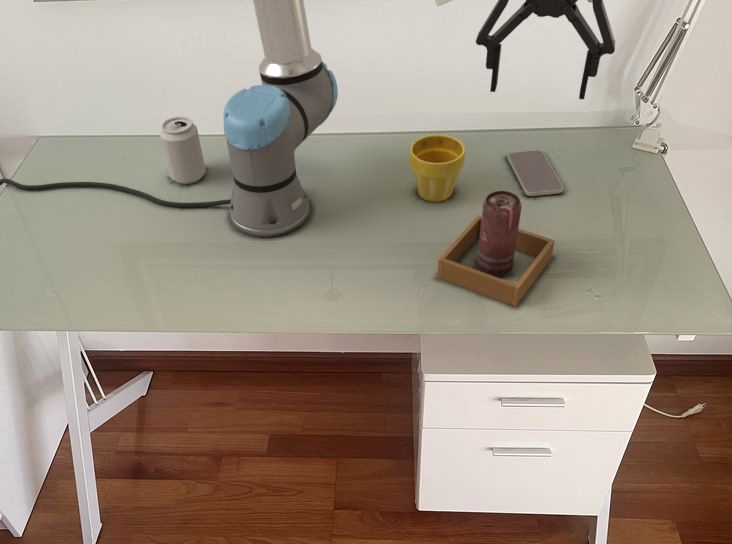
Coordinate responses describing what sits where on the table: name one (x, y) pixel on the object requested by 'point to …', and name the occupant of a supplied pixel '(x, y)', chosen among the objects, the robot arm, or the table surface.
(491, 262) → the can
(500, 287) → the wooden square frame
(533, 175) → the smartphone
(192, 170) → the can
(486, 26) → the robot arm
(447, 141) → the flower pot
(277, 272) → the table surface
